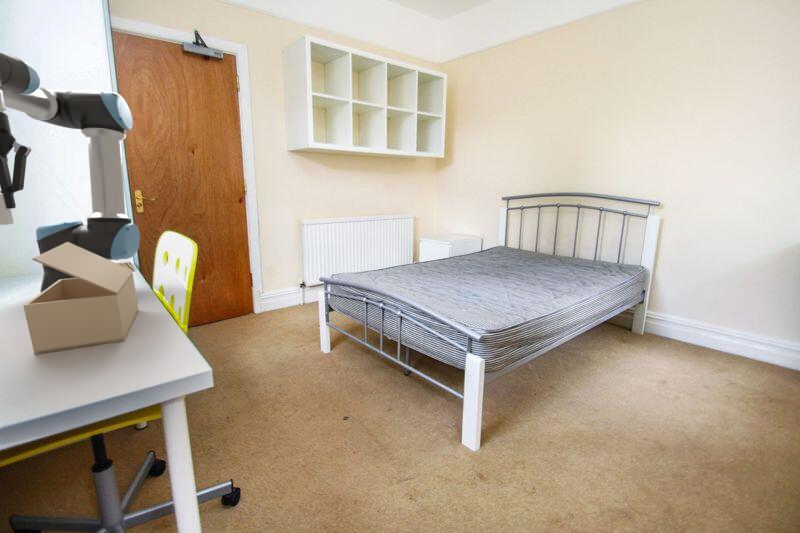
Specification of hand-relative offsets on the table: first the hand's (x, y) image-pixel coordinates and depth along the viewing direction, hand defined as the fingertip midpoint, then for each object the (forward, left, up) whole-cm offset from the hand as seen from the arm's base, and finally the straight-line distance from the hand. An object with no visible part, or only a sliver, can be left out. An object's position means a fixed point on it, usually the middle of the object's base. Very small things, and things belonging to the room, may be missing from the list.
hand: (6, 223), depth 86 cm
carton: (0, +12, -27) cm, 29 cm away
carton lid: (0, +13, -11) cm, 17 cm away
